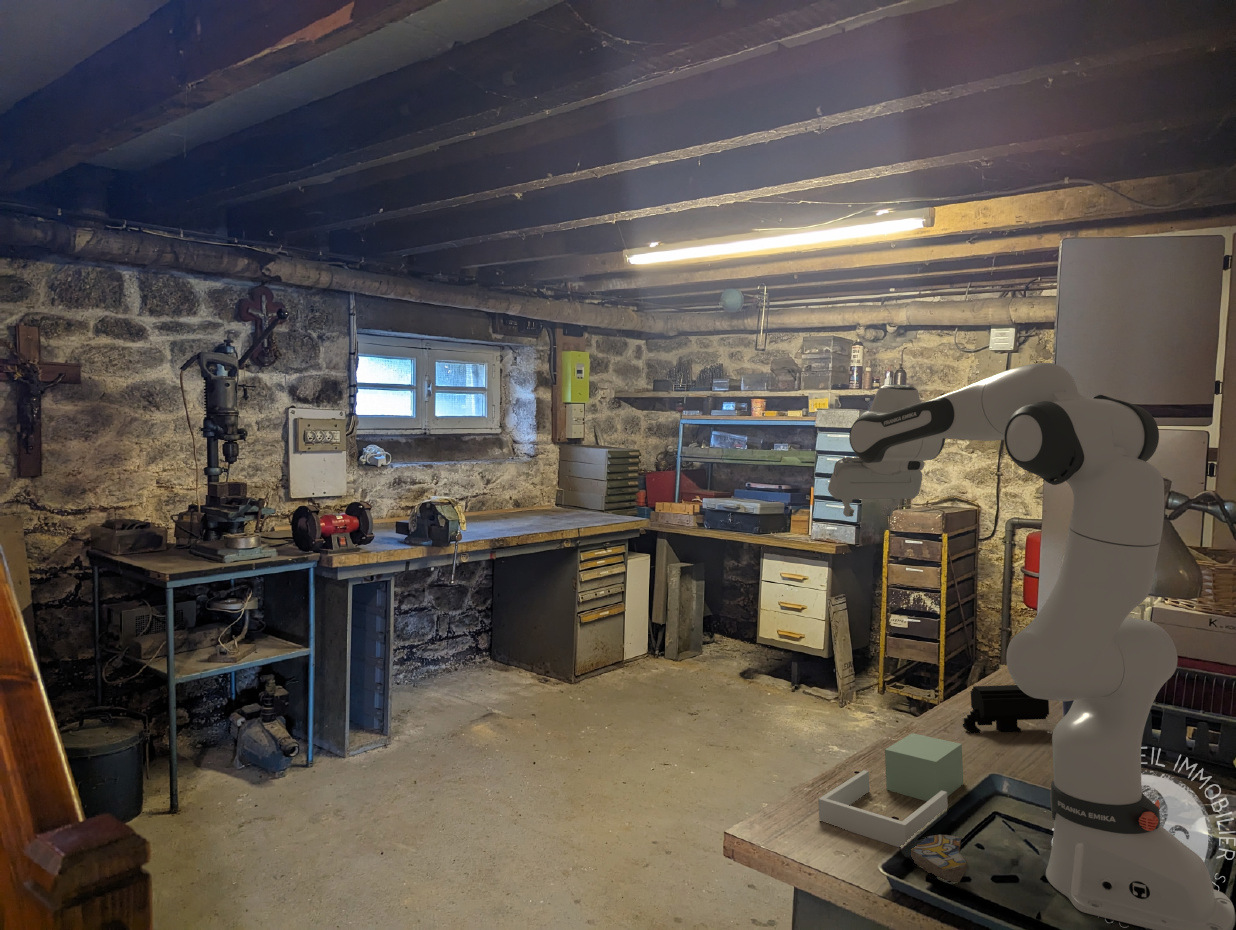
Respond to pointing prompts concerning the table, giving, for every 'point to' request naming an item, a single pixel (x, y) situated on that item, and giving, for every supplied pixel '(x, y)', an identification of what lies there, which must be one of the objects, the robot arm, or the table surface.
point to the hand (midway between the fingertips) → (867, 515)
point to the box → (872, 824)
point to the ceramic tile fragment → (940, 857)
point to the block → (923, 766)
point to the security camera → (1003, 708)
